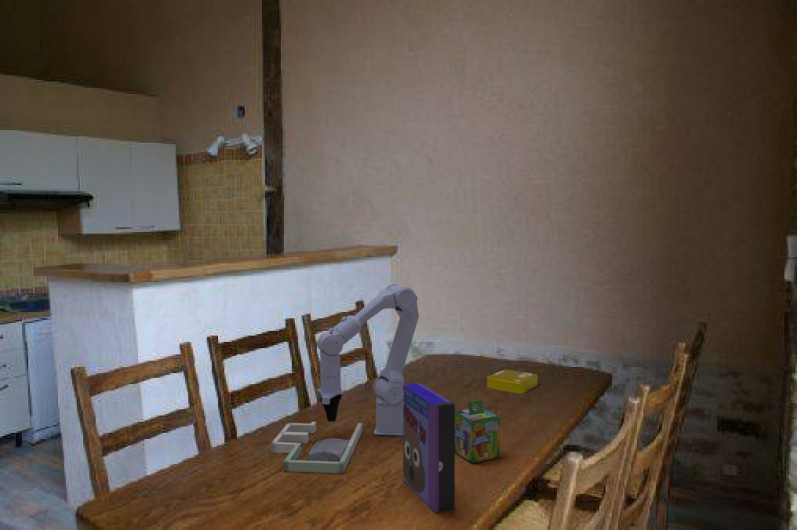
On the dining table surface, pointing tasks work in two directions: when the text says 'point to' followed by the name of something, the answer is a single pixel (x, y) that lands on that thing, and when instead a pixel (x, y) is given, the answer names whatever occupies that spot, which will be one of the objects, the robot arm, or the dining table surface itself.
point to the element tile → (512, 381)
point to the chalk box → (477, 433)
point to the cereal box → (429, 446)
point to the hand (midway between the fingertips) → (331, 420)
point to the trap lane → (299, 434)
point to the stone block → (328, 450)
